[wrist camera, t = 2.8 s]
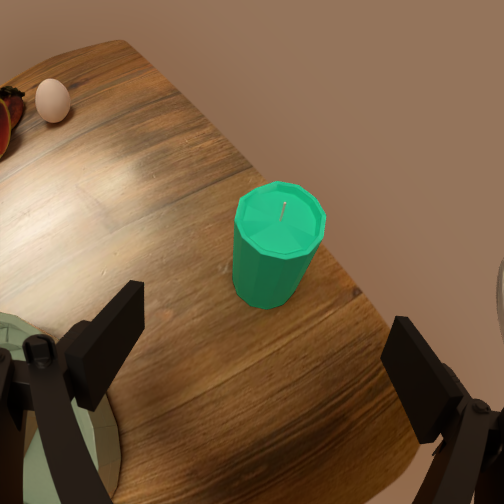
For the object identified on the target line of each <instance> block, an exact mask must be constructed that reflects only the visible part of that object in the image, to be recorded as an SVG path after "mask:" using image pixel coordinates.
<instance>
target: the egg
mask: <svg viewBox="0 0 504 504" xmlns="http://www.w3.org/2000/svg"><path fill="white" fill-rule="evenodd" d="M35 102H36V108H37V110H38V113H39V115H40V116H41V117H42V118H43V119H44V120H46V121H48V122H51V123H56V122H59V121H61V120H63V119H64V118H65V117H66V115H67V113H68V111H69V108H70V96H69V93H68V91H67V89H66V88H65V86H64V85H63V84H62V83H60V82H59V81H57V80H55V79H46V80H44V81H43V82H42V83H41V84H40V85H39V87H38V89H37V92H36V100H35Z"/></svg>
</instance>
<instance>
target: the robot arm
mask: <svg viewBox="0 0 504 504" xmlns="http://www.w3.org/2000/svg"><path fill="white" fill-rule="evenodd" d="M144 329H145V323H144V282H139V281H133V280H130V281H129V282H128V283H127V284H126V285H125V286H124V287H123V288H122V289H121V290H120V291H119V292H118V293H117V295H116V296H115V297H114V298H113V299H112V300H111V301H110V302H109V303H108V304H107V305H106V306H105V307H104V308H103V309H102V311H101V312H100V313H99V314H98V315H97V316H96V317H95V318H94V319H93V320H92V321H91V322H90V321H86V320H82V321H80V322H78V323H76V324H74V325H73V326H72V327H71V329H70V330H69V331H68V332H67V333H66V334H65V335H64V337H62V338H61V339H60V340H59V341H58V342H57V343H56V344H55V341H54V339H53V338H52V337H50V336H49V335H45V334H35V335H31V336H29V337H28V338H26V339H25V340H24V341H23V343H22V349H23V352H24V356H25V359H26V361H21V360H13V358H12V355H11V353H10V351H9V350H7V349H6V348H1V347H0V504H23V464H24V445H25V432H26V422H27V413H28V411H35V416H36V421H37V425H38V430H39V434H40V438H41V442H42V446H43V450H44V453H45V457H46V460H47V464H48V467H49V470H50V474H51V477H52V480H53V483H54V486H55V489H56V492H57V494H58V497H59V500H60V502H61V504H113V502H112V500H111V498H110V496H109V494H108V492H107V490H106V488H105V486H104V484H103V482H102V480H101V478H100V476H99V474H98V471H97V469H96V467H95V465H94V462H93V460H92V458H91V455H90V453H89V451H88V448H87V446H86V443H85V441H84V438H83V435H82V433H81V430H80V427H79V425H78V422H77V419H76V416H75V413H74V410H73V407H72V404H71V402H72V400H73V399H74V397H75V399H76V403H77V406H78V407H80V408H83V409H86V410H89V411H92V412H95V410H96V408H97V407H98V405H99V403H100V401H101V400H102V398H103V396H104V395H105V393H106V391H107V390H108V388H109V386H110V384H111V383H112V381H113V379H114V378H115V376H116V374H117V373H118V371H119V369H120V368H121V366H122V364H123V363H124V361H125V360H126V358H127V356H128V355H129V353H130V351H131V350H132V348H133V347H134V345H135V343H136V342H137V340H138V338H139V337H140V335H141V334H142V332H143V330H144ZM380 359H381V361H382V363H383V365H384V367H385V369H386V371H387V373H388V375H389V377H390V379H391V382H392V384H393V386H394V388H395V390H396V392H397V394H398V396H399V399H400V401H401V403H402V405H403V407H404V409H405V412H406V414H407V416H408V418H409V421H410V423H411V425H412V427H413V430H414V432H415V434H416V436H417V439H418V441H419V443H420V444H426V443H433V442H434V441H435V440H436V439H437V437H438V436H439V434H440V433H441V435H442V436H443V440H442V442H441V443H440V444H439V446H438V447H437V448H436V450H435V451H434V452H433V454H432V456H434V455H435V456H434V459H433V461H432V464H431V466H430V468H429V470H428V472H427V474H426V477H425V479H424V481H423V483H422V485H421V487H420V489H419V491H418V493H417V495H416V497H415V499H414V501H413V502H412V504H470V503H471V500H472V496H473V493H474V490H475V494H474V504H504V408H503V409H502V411H501V412H497V411H491V409H490V407H489V405H487V403H485V402H484V401H482V400H480V399H472V398H471V396H470V395H469V393H468V392H467V390H466V389H465V387H464V386H463V384H462V383H460V380H459V379H458V377H456V375H455V373H454V372H453V370H452V369H451V368H450V367H448V366H447V365H446V364H444V363H441V362H440V360H439V359H438V357H437V356H436V354H435V353H434V352H433V350H432V349H431V347H430V346H429V345H428V343H427V342H426V341H425V339H424V338H423V337H422V335H421V334H420V333H419V331H418V330H417V329H416V327H415V326H414V325H413V323H412V322H411V321H410V319H409V318H408V317H403V316H395V320H394V323H393V325H392V328H391V331H390V333H389V336H388V339H387V341H386V344H385V347H384V349H383V352H382V354H381V357H380Z"/></svg>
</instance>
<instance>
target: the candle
mask: <svg viewBox="0 0 504 504" xmlns="http://www.w3.org/2000/svg"><path fill="white" fill-rule="evenodd" d="M325 222H326V214H325V212H324V211H323V209H322V207H321V205H320V204H319V202H318V200H317V199H316V198H315V197H314V196H312V195H311V194H310V193H309V192H307V191H306V190H305V189H303V188H302V187H301V186H299V185H295V184H291V183H285V182H280V181H276V182H273V183H269V184H266V185H264V186H261V187H258V188H255V189H254V190H252V191H250V192H249V193H247V194H246V195H244V196H243V197H241V198H240V201H239V204H238V208H237V212H236V216H235V220H234V246H233V276H232V280H233V283H234V286H235V289H236V292H237V295H238V296H239V297H240V298H242V299H243V300H244V301H245V302H246V303H247V304H248V305H250V306H253V307H257V308H262V309H267V310H268V309H271V308H274V307H277V306H281V305H283V304H284V303H285V302H286V301H287V300H288V299H289V298H290V297H291V295H292V294H293V293H294V292H295V290H296V288H297V286H298V284H299V282H300V281H301V279H302V277H303V275H304V273H305V271H306V269H307V268H308V266H309V264H310V262H311V260H312V258H313V256H314V254H315V252H316V251H317V249H318V247H319V245H320V243H321V241H322V239H323V236H324V229H325Z"/></svg>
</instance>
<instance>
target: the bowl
mask: <svg viewBox="0 0 504 504" xmlns="http://www.w3.org/2000/svg"><path fill="white" fill-rule="evenodd" d="M35 334H45V335H49V336H50V337H52V338H53V339H54V341H55V344H56V343H57V342H58V341H59V339H57V338H56V337H54V336H52V335H50V334H49V333H47V332H45V331H43V330H41V329H40V328H38V327H36V326H34V325H32V324H30V323H28V322H27V321H25V320H23V319H21V318H20V317H18V316H16V315H11V314H6V313H1V312H0V347H1V348H6V349H7V350H9V351H10V353H11V355H12V358H13V360H21V361H26V359H25V356H24V352H23V349H22V343H23V341H24V340H25V339H26V338H28V337H29V336H31V335H35ZM71 404H72V407H73V410H74V413H75V416H76V419H77V422H78V425H79V427H80V430H81V433H82V435H83V438H84V441H85V443H86V446H87V448H88V451H89V453H90V455H91V458H92V460H93V462H94V465H95V467H96V469H97V471H98V474H99V476H100V478H101V480H102V482H103V484H104V486H105V488H106V490H107V492H108V494H109V496H110V498H111V497H112V496H113V494H114V492H115V490H116V488H117V482H118V475H119V469H120V462H121V453H120V445H119V437H118V428H117V424H116V421H115V419H114V416H113V413H112V411H111V408H110V405H109V402H108V399H107V396H106V394H105V395H104V396H103V398H102V400H101V401H100V403H99V405H98V407H97V408H96V410H95V412H92V411H89V410H86V409H83V408H80V407H78V406H77V403H76V399H75V397H74V399H73V400H72V402H71ZM23 504H61V502H60V500H59V497H58V494H57V492H56V489H55V486H54V483H53V480H52V477H51V474H50V470H49V467H48V464H47V460H46V457H45V453H44V450H43V446H42V442H41V438H40V434H39V430H38V428H37V430H36V432H35V434H34V437H33V439H32V441H31V443H30V445H29V448H28V450H27V452H26V455H25V457H24V464H23Z"/></svg>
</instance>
